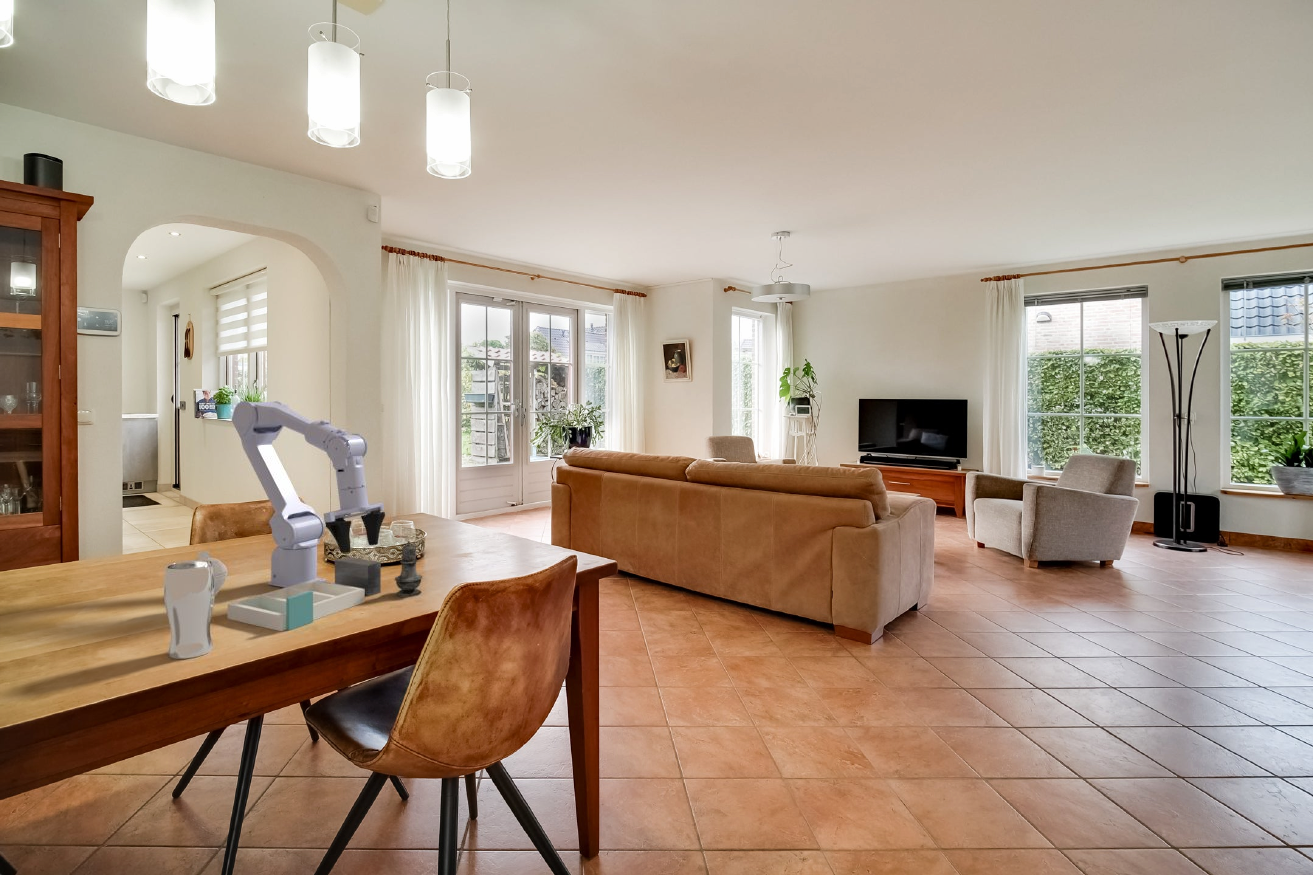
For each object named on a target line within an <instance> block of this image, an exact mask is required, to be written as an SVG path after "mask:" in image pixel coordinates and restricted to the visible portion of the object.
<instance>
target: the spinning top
mask: <svg viewBox="0 0 1313 875" xmlns="http://www.w3.org/2000/svg"><path fill="white" fill-rule="evenodd" d="M210 554H211V551H209V550H202V551H199V552H197V556H198V558H197V559H195V560H210V561H213V562H214V572H215V585H216V587H215V597H216V596H217V595H218V593H219V592H220V590H221V589H222V587H223V586H224V584H225V582H226V580H227V578H228V569H227V567H226V565H225V563H223V562H222V561H220V559H217V558H214V557H210Z"/></svg>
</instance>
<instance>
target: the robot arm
mask: <svg viewBox="0 0 1313 875" xmlns="http://www.w3.org/2000/svg"><path fill="white" fill-rule="evenodd" d="M231 422H232V424H233V425H234V428H235V430H236V432H237V434H238V436H239V438H240V441H241V445H242V449H243V450H244V453H245V455H246V457H247V459H248V460H249V462H250V464H251V466H252V469H253V471H254V472H255V474H256V476H257V478H258V480H259V482H260V484H261V486H262V488H263V490H264V492H265V494H266V496H267V498H268V500H269V502H270V504H271V506H272V508H273V510H274V513H273V515H272V516H271V518H270V519H269V521H268V523H269V526H270V528H271V535H272V540H273V541H274V543H275V544H276V545H277V546H276V547H275V548H274V549H273V551H272V553H271V558H270V571H271V572H270V578H271V579H270V580H271V581H268V582H267V585H269V586H274V587H280V588H286V587H290V586H293V585H297V584H300V583H304V582H308V581H311V580H319V581H324V582H327V579H326V578H323V577H322V578H321V577H318V559H317V558H318V544H320V539H322V538H323V536H324V535H325V531H326V529H327V530H328V531H329V532H330V533H331V535H332V536H333V538H334V540H335V541H336V544H337V546H338V548H339V551H340V553H341V554H345V553H350V552H351V538H350V536H351V534H350V532H351V524H352V520H346V519H349V518H354V517H359V516H360V519H361V520H362V522H363V526H364V529H365V534H366V538H367V544H368V545H369V546H377V545H378V544H379V537H380V531H381V528H382V524H383V521H384V520H385V517H386V512H385V505H384V502H376V503H370V504H369V498H368V490H367V483H366V474H365V466H364V459H363V458H364V457H365V456H366V454H367V452H368V444H367V441H366V439H365V438H364V437H363V436H362V435H360V433H351V434H348V433H347V431H346V430H345V429H343V428H337V427H336V426H333V425H332V424H330V423H331V422H330V421H329V420H327V419H326V420H325V419H321V420H315V421H312V420H310V419H308V418H307V417H305V416H304V415H301V414H300V413H298V412H296V411H294V410H293V409H292V408H290V406H289V405H288V404H283V403H282V402H280V401H248V400H244V401H243V400H242V401H240V402H238V403H237V404H236V406H235V407H234V409H233V414H232V416H231ZM283 428H287V429H289V430H292V431H294V432H296V433H299V434H301V435H304V439H305V442H306V443H308V444H309V445H311V446H314V447H316V448H317V449H320V450H321V451H324V452H326V454H327V457H328V458H329V459H330V460H331V464H332V467H333V469H334V470H335V476H336V484H337V493H338V501H339V506H340V507H339V509H338V510H334V511H329V512H326V513H325V512H324V513H323V518H322V517H321V516H320V515H319V514H318V513H317V512H316V511H315V509H314V507H312V506H311V505H309V504H306V503H304V502H302V501H301V500H300V498H299V496H298V494H297V492H296V490H295V488H294V486H293V483H292V482H291V480H290V478H289V477H288V474H287V472H286V470H285V469H284V467H283V466H284V465H282V463H281V460H280V458H279V457H278V455H277V452H276V451H275V448H274V447H273V441H275V440H277V438H278V437H279V435H280V433H281V432H282V430H283ZM358 512H359V513H358ZM353 513H354V514H353ZM323 519H324V520H323Z"/></svg>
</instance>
